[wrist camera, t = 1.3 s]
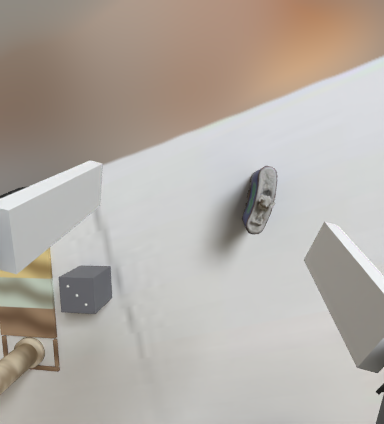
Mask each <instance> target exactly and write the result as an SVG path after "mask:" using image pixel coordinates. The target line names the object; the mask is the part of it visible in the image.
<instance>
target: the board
mask: <svg viewBox="0 0 384 424" xmlns="http://www.w3.org/2000/svg"><path fill="white" fill-rule="evenodd" d="M0 329H1V335H13V336H28V337H42V338H56V337H57V331H56V318H55V306H54V293H53V281H52V268H51V256H50V248H48V249H47V250H46V251H45V252H43V253H42V254H41V255H40V256H39V257H37V258H36V259H35V260H34V261H32V262H31V263H30V264H29V265H28V266H26V267H25V268H24V269H23V270H22V271H20V272H19V273H18V274H13V273H10V272H6V271H2V270H0ZM2 344H3V354H4V357H5V356H6V355H8V349H7V339H6V336H2ZM53 347H54V359H55V367H52V366H40V365H37V366H36V367H34V368H29V369H36V370H47V371H59V370H60V368H59V367H58V366H59V356H58V343H57V339H54V340H53Z"/></svg>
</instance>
